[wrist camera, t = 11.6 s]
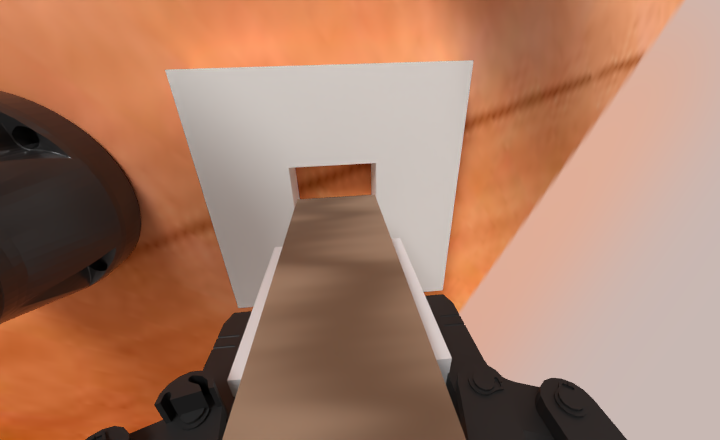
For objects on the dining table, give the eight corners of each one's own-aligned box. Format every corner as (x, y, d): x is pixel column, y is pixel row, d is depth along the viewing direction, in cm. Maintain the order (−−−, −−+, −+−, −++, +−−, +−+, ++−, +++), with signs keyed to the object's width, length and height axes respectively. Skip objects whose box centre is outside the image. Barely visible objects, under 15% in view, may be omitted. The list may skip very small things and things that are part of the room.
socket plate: (248, 285, 26) (238, 308, 24) (189, 71, 18) (165, 69, 16) (431, 270, 27) (442, 290, 25) (454, 63, 19) (473, 60, 17)
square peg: (306, 263, 18) (242, 686, 5) (297, 199, 16) (160, 638, 3) (375, 258, 18) (468, 647, 6) (374, 194, 16) (519, 580, 4)
